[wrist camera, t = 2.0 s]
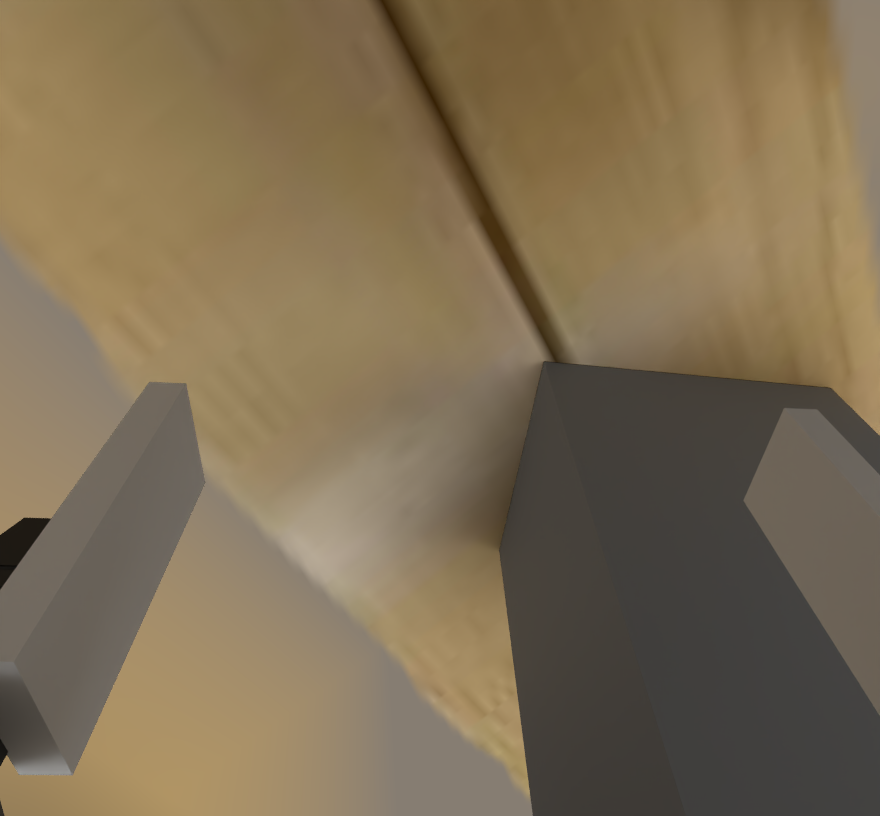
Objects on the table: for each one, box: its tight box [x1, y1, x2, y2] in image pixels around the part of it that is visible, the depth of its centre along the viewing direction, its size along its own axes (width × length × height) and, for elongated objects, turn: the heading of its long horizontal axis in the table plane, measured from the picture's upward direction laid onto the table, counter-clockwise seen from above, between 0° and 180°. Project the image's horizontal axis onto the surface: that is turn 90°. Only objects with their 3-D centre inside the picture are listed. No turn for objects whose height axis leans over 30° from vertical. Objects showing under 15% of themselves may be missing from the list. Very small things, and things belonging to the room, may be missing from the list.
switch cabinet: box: [499, 362, 880, 816], centre depth 30 cm, size 16×19×29 cm
